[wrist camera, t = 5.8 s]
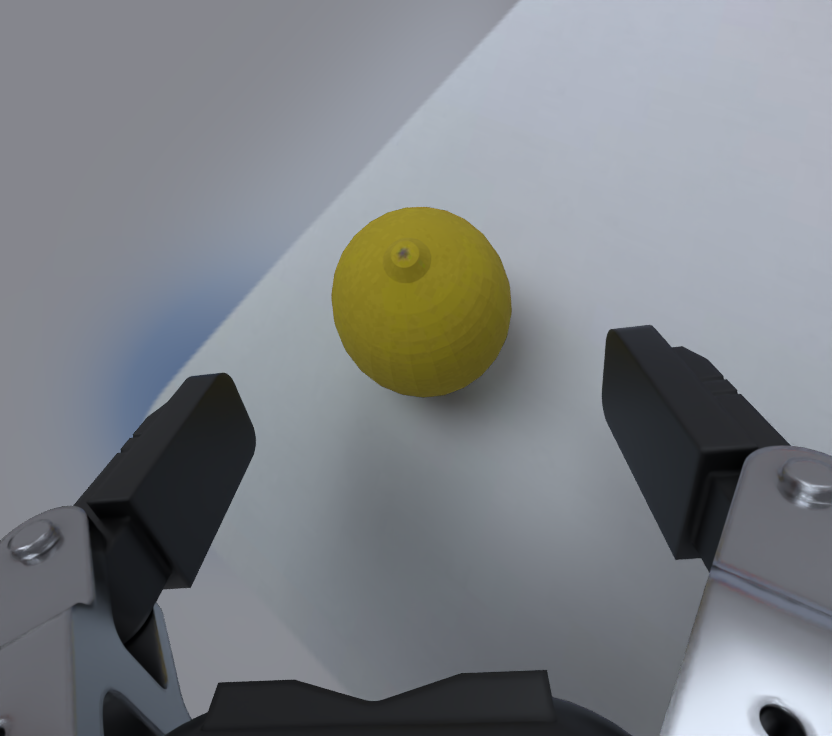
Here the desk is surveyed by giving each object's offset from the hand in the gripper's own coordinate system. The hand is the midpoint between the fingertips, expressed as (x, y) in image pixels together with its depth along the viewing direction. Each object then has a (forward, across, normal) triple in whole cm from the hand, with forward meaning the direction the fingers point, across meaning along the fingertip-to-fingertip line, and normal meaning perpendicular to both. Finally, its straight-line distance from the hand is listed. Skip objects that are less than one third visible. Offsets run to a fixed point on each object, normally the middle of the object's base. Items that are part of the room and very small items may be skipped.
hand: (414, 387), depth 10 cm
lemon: (+8, 0, +4) cm, 9 cm away
